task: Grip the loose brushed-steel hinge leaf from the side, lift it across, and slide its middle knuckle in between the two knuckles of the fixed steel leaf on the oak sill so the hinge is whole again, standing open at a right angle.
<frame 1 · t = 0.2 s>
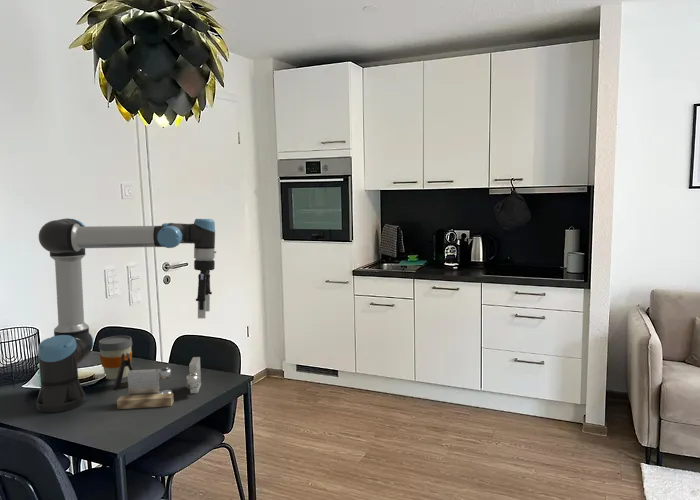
hand: (203, 314, 206), 27 cm above the table, tool pointing down, fingers open, 13 cm apart
reusable coffee cup: (117, 376, 219), on the table
oak sill: (146, 405, 189), on the table
fixed steel leaf: (166, 399, 194), resting on oak sill
dark forked stand: (127, 385, 208), on the table
loose hinge leaf: (195, 388, 204), on the table
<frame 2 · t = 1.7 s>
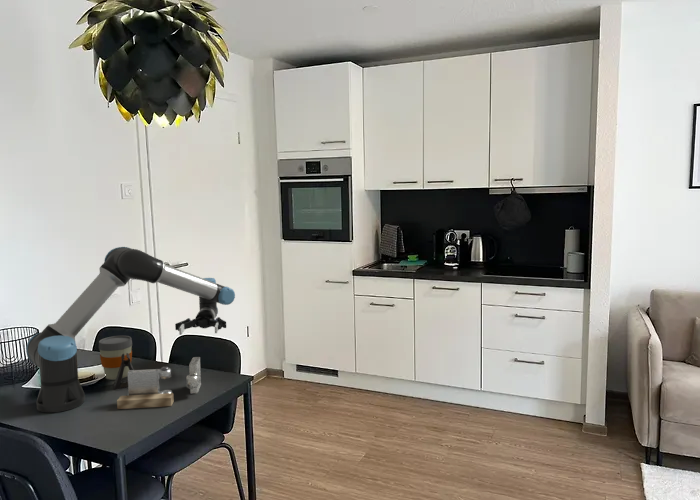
hand: (198, 330, 212), 20 cm above the table, tool horizontal, fingers open, 13 cm apart
nothing on the table moved.
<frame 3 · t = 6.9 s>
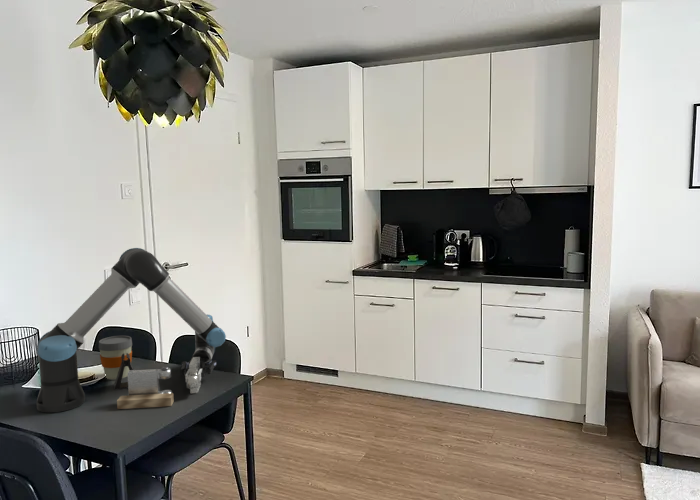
hand: (192, 378, 197), 6 cm above the table, tool horizontal, fingers closed on loose hinge leaf, 4 cm apart
loose hinge leaf: (195, 388, 204), on the table, touching gripper
everything else where it was.
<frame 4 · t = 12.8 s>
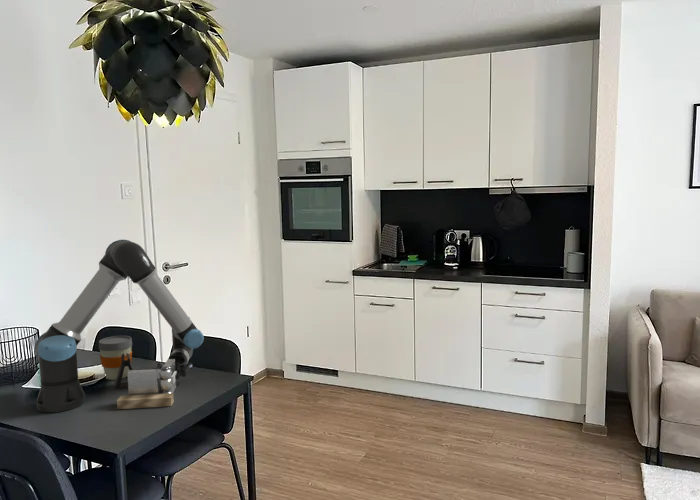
hand: (166, 380, 194), 6 cm above the table, tool horizontal, fingers closed on loose hinge leaf, 4 cm apart
loose hinge leaf: (170, 391, 201), on the table, touching gripper
everything else where it was.
when the fingers open (6 cm above the table, at t = 13.2 s): loose hinge leaf stays where it is, on the table.
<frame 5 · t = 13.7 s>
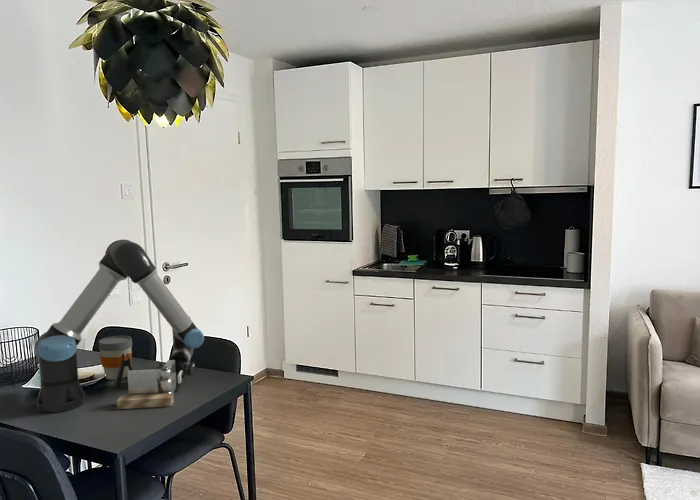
hand: (169, 380, 195), 6 cm above the table, tool horizontal, fingers open, 6 cm apart
loose hinge leaf: (170, 392, 201), on the table
everything else where it was.
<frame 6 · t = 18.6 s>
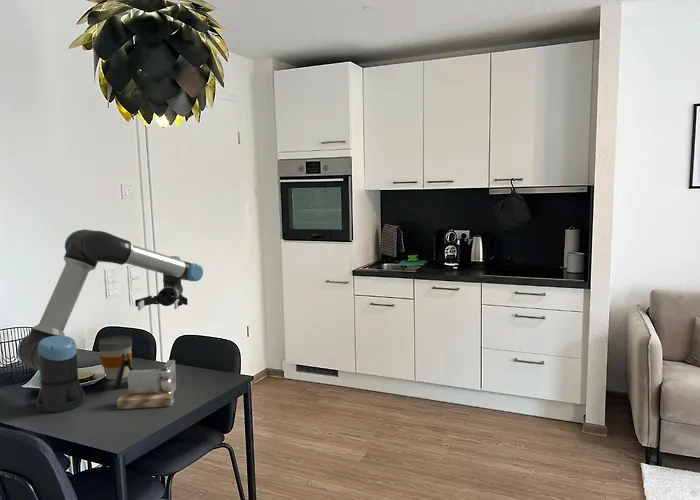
hand: (157, 306, 209), 30 cm above the table, tool horizontal, fingers open, 13 cm apart
nothing on the table moved.
at the end: loose hinge leaf 0.2 cm from the target spot on the table beside the fixed steel leaf, on the table; loose hinge leaf tilted 0°; the gripper is holding nothing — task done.
